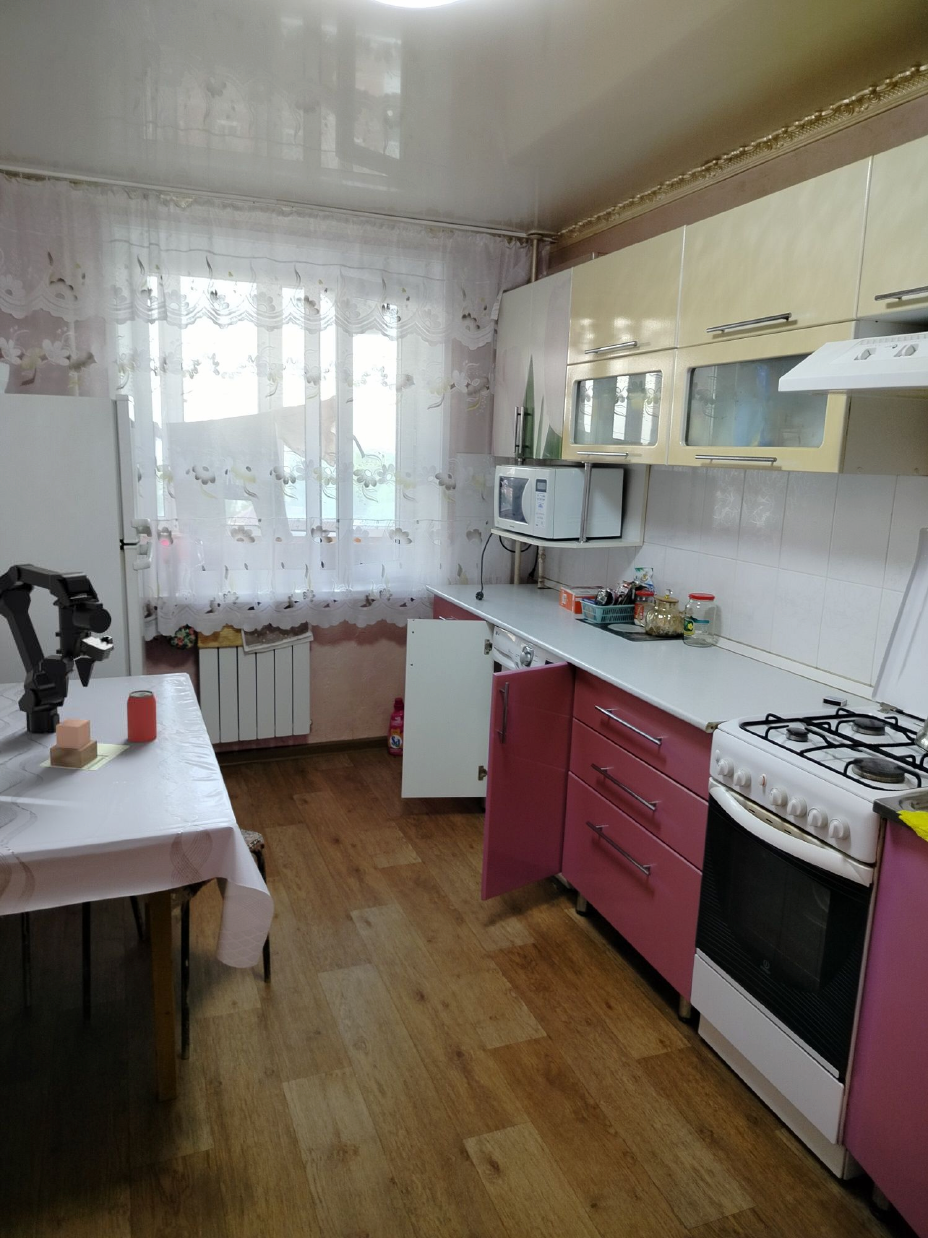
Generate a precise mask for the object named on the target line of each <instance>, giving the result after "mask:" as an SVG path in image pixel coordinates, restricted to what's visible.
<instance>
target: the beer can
mask: <svg viewBox="0 0 928 1238" xmlns="http://www.w3.org/2000/svg"><path fill="white" fill-rule="evenodd" d="M126 719H127V720H126V722H127V723H126V724H127V729H126V730H127V740H128V741H129V742H132V743H148V742H152V741H154V740H156V739H157V735H158V734H157V733H158V732H157V731H158V730H157V726H158V725H157V700H156V697H155V695H154V692H153V691H152V690H148V689H147V690H144V689H143V690H133V691H131V692H129V694H128V699H127V700H126Z"/></svg>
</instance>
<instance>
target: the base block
mask: <svg viewBox="0 0 928 1238" xmlns="http://www.w3.org/2000/svg"><path fill="white" fill-rule="evenodd" d="M97 743H98V740H97V739H90V742H89V743H87V744H86V745H84V746H83V747H81V748H80V749H73V748H60V747H57V743H56V744H55V745H53V746H51V747H49V759H50V764H51V766H60V767H72V768H83V767H84V766H85V765H87V764H88V763H90V762H91V761H93V760H94V759H96V758H97V757H98V755H97Z"/></svg>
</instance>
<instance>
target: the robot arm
mask: <svg viewBox="0 0 928 1238" xmlns="http://www.w3.org/2000/svg"><path fill="white" fill-rule="evenodd" d="M35 587H39V588H42V589H44V590H45V589H46V590H48V591H49V594H50V595H52V596H53V597H55V598H57V599H56V600H54V601H53V602H52V605H53V606H55V607H57V608H58V609H57V613H58V631H56V632H55V633H54V635H55V637H56V638H58V637H59V648H57V649H55V652H56V654H50V655H48V656H45V654H44V651H43V649H42V646H41V644H40V640H39V637H38V635H37V633H36V630H35V628H34V624H33V622H32V619H31V616H30V613H29V610H30V606H31V602H32V598H31V593H32V592H33V591H34V589H35ZM0 615H1V616H2V617H3V618H5V619H6V622H7V624H8V626H9V629H10V632H11V635H12V637H13V640H14V643H15V645H16V647H17V651H18V654H19V656H20V659H21V662H22V665H23V667H24V670H25V673H26V676H25V679H24V683H23V689H24V693H23V695H22V696H21V697H20V699H19V700H18V701H17V704H18V708H19V711H20V712H24V713H25V718H26V721H25V722H26V731H27V732H30V733H32V734H37V735H39V734H42V735H43V734H52V733H53V734H56V725H58V724H59V723H61V721H60V720H61V719H60V717H61V716H60V714H59V712H58V711H59V710H58V708H62V707H63V706H64V705H65V699H66V698H67V697H68V693H69V685H70V684H69V682H70V681H69V680H70V675H71V674H72V673H74V672H75V668H76V671H77V673H78V676H79V677H78V678H79V680H80V683H81V685H82V687H83V688H88V687H89V684H90V680H91V677H92V673H93V670H94V667H95V665H96V664H97V662H99V663H100V662H104V660H108V659H109V658H110V655H111V652H112V651H114V650H115V647H114V641H113V637H112V636H111V635H110V636H109V635H105V636H103V637H101V638H99V637H97V638H95V637H94V636H93V635H92V633H95V634H104V633H105V632H107V631H108V630H109V629H110V627H111V625H112V616H111V614H110V612H109V611H108V610H107V609H105V608H104V604H103V602H100V599H99V596H98V593H97V592H96V590H95V588H94V586H93V584H92V582H91V580H90V578H89V577H88V575H87V574H86V573H85V572H83V571H70V572H58V571H55V570H51V569H47V568H45V567H39V566H36V565H34V564H32V563H23V564H22V563H20V564H14V565H12V566H10V567H9V568H8V569H7V571H6V572H5V573H3V574H2V575H0ZM74 666H75V668H74Z"/></svg>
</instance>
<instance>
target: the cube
mask: <svg viewBox="0 0 928 1238" xmlns="http://www.w3.org/2000/svg"><path fill="white" fill-rule="evenodd" d="M55 735H56V737H55V738H56V744H57V747H60V748H73V749H80V748H81V747H83V746H84V745H86V744H87V743H89V742H90V740H91V720H90V719H80V718H78V719H77V718H66V719H65V720H63V721H60V723H59V724H58V725H56V732H55Z"/></svg>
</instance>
